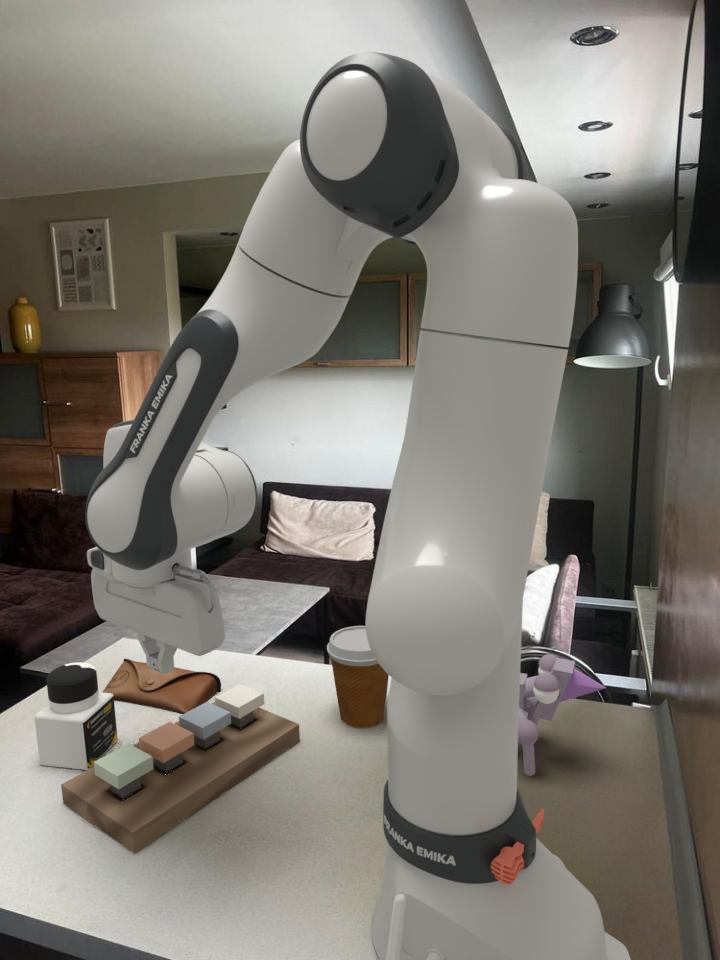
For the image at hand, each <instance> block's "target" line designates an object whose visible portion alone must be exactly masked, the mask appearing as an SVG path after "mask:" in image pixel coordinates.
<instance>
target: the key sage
mask: <svg viewBox="0 0 720 960" xmlns="http://www.w3.org/2000/svg"><path fill="white" fill-rule="evenodd" d="M93 767H94V769H95V775H96V776H98V777H100V778H101V779H103V780H104V781H106V782H108V783H109V784H110V787H111V791H113V792H114V793H116V794H117V795H119V796H120V797H122V798H124V797H126V796H128V795H129V794H131V793H133V792H134V791H136V790H138V789H139V788H141V780H140V777H141V776H142V775H144V774H146V773H148V772H149V771H151V770H153V757H152V756H151V755H149V754H147V753H145V752H143V751H141V750H140V749H138V748H136V747H134V746H133V745H132V744H130V743H127V744H125V745H123V746H121V747H119V748H117V749H116V750H113V751H112V752H110V753H108V754H105V756H104V755H103V756H102V757H101V758H100V759H98V760H97V761H95V762H94V765H93Z"/></svg>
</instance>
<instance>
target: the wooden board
mask: <svg viewBox="0 0 720 960" xmlns="http://www.w3.org/2000/svg"><path fill="white" fill-rule="evenodd" d="M211 704H213V705H215V701H214V702H212V703H211ZM215 706H216V705H215ZM253 717H254V720H253V721H251V722H250V723H248V724H246V725H245V726H243V727H241V728H240V727H238V726H235V725H233V724H230V725H228V726H226V727H225V728H223V729H221V730H219V732H220V740H219V741H218V742H216V743H214V744H213V745H211V746H209V747H208V748H206V749H205V748H203V747H201V746H199V745H197V744H195V743H194V746H192V747H190V748H189V749H187V750H185V751H183V752H182V759H183V763H181V764H179V765H178V766H176V767H174V768H173V769H171V770H169V771H168V772H166V771H164V770H162V769H160V768H158V767H157V766H155V765H154V758H153V770H151V771H149V772H148V773H146V774H144V775H142V776H141V777H140V780H141V788H139V789H138V790H136V791H134V792H133V793H131V794H129V795H128V796H126V797H124V798H122V797H120V796H119V795H117V794H116V793H114V792H113V791H111V787H110V784H109V783H108V782H106V781H104V780H103V779H101V778H100V777H98V776H96V775H95V769H94V766H92V767H91V768H90V769H89V770H84V772H81V773H80V774H78V775H76V776H74V777H72V778H70V779H68V780H67V781H65V782H63V783H61V784H60V787H61V788H60V789H61V795H62V804H64V805H65V806H66V807H68V808H69V809H71V810H72V811H73V812H75V813H76V814H77V815H79V816H80V817H82V818H83V819H84V820H86V821H88V822H89V823H90V824H92V825H93V826H95V827H96V828H97V829H99V830H100V831H102V832H103V833H105V834H106V835H107V836H109V837H111V838H112V839H113V840H114V841H116V842H117V843H118V844H121V846H123V847H124V848H126V849H127V850H129V851H130V852H131V853H133V854H136V853H137V852H139V851H141V850H142V849H144V848H145V847H147V846H148V845H149V844H151V843H152V842H154V841H156V840H157V839H158V838H160V837H161V836H163V835H164V834H166V833H167V832H168V831H170V830H172V829H173V828H174V827H176V826H177V825H179V824H180V823H182V822H184V821H185V820H186V819H188V818H190V816H192V815H193V814H195V813H196V812H198V811H199V810H201V809H203V808H204V807H205V806H207V805H208V804H210V803H211V802H212V801H214V800H216V799H217V798H218V797H220V796H221V795H223V794H224V793H226V792H227V791H229V790H231V789H232V788H234V787H235V786H236V785H237V784H239V783H240V782H242V781H244V780H245V779H246V778H247V777H249V776H251V775H253V774H254V773H255V772H257V771H258V770H259V769H261V768H263V767H264V766H265V765H267V764H269V763H270V762H272V761H273V760H275V758H277V757H279V756H280V755H281V754H283V753H285V752H286V751H288V750H289V749H291V748H292V747H294V746H295V745H296V744H298V743H299V742H301V738H300V735H301V734H300V724H299V723H297V722H295V721H293V720H290V719H288V718H286V717H284V716H283V717H282V716H280V715H278V714H276V713H273V712H271V711H268V710H266V709H264V708H262V707H259V708H257V709H255V710H254V711H253ZM173 723H174V724H176V725H178V726H180V725H179V720H178V721H176V722H173ZM132 746H134V747H136V748H138V749H140V748H139V742H137V743H136V744H133V745H132ZM172 770H173V771H172ZM170 771H171V772H170ZM167 773H168V774H167ZM165 774H166V775H165Z"/></svg>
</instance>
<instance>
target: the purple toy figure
mask: <svg viewBox="0 0 720 960" xmlns="http://www.w3.org/2000/svg"><path fill="white" fill-rule="evenodd" d="M575 663H576V661H575V660H570V659H566V658H562V657H559V656H557V655H556V654H553V653H548V654H544V655H543V656H541V658H540V659H539V661H538V674H537V675H534V676H530V677H529V676H528V673H522V672H520V692H519V722H518V744H521V745H522V759H523V772H524V775H526V776H529V777H531V776H534V775H535V774H536V760H535V759H536V757H535V743H536V742H537V741H538V738H539V734H540V732H539V728H538V723H539V722H538V721H539V720H540V719H542V720H545V721H552V719H553V717H554V715H555V713H556V710H557V708H558V707H559V705H560V703H561V702H565V701H569V700H572V699H574V698H578V697H581V696H585V695H588V694H591V693H594V692H598V691H601V690H604V689H607V687H606V686H605V685H603V684H601V683H600V682H597V681H596V680H594V679H593V678H592V677H590V676H588V675H586V674H585V673H584V672H581V671H580V670H578V669H577V668H575Z"/></svg>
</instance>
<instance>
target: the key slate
mask: <svg viewBox="0 0 720 960" xmlns="http://www.w3.org/2000/svg"><path fill="white" fill-rule="evenodd" d="M178 721H179V725H180V727H182V728H184V729H186V730H188V731H190V732H192V733H194V743H195V744H197V745H199V746H201V747H203V748H205V749H206V748H208V747H209V746H211V745H213V744H214V743H216V742H218V741H219V740H220V732H219V730H221V729H223V728H225V727H226V726H228V725H230V724H231V712H229V711H227V710H224V709H222V708H220V707H218V706H215V705H213V704H211V703H210V702H209V701H207V702H206V703H204V704H202V705H200V706H198V707H196V708H194V709H192V710H190V711H189V712H187V713H185V714H181V715H180V716H178Z"/></svg>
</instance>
